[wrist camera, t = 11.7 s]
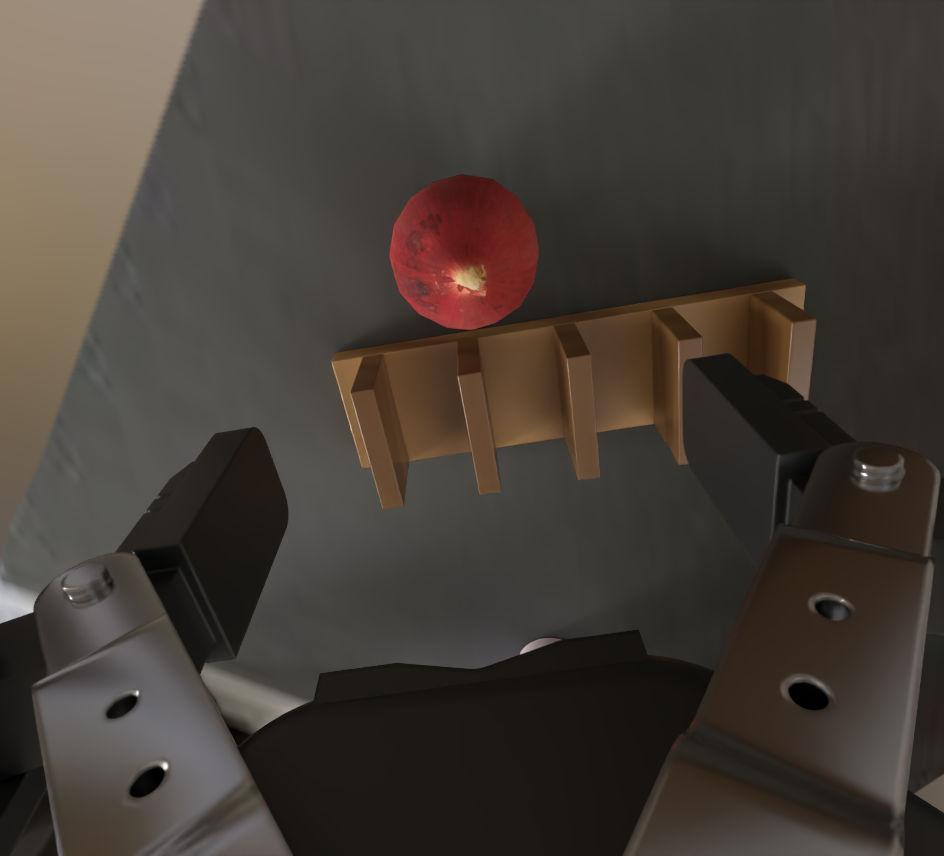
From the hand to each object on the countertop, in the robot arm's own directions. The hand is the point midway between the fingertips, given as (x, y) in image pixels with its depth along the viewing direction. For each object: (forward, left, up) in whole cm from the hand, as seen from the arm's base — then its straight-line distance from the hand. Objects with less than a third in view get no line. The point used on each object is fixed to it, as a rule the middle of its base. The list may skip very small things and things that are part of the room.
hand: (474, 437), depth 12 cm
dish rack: (+4, -7, -18) cm, 20 cm away
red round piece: (0, 0, -18) cm, 18 cm away
